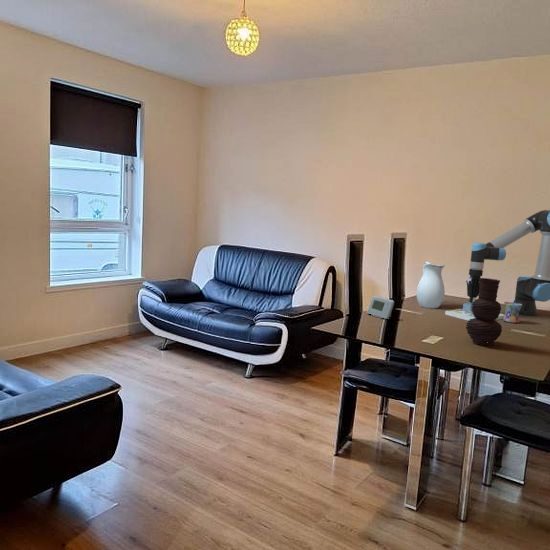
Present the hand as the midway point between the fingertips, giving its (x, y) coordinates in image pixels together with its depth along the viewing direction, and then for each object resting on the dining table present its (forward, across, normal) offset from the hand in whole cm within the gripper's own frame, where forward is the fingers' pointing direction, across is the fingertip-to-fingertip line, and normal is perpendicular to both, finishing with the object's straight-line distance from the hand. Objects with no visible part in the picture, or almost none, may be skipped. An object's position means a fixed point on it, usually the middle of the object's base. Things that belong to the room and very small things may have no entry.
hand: (471, 307), depth 294 cm
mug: (+4, -8, +22) cm, 23 cm away
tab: (+2, +3, 0) cm, 3 cm away
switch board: (+4, +2, +5) cm, 7 cm away
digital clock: (+5, +63, -12) cm, 64 cm away
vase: (+4, +55, +46) cm, 72 cm away
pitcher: (+4, +6, -28) cm, 29 cm away
